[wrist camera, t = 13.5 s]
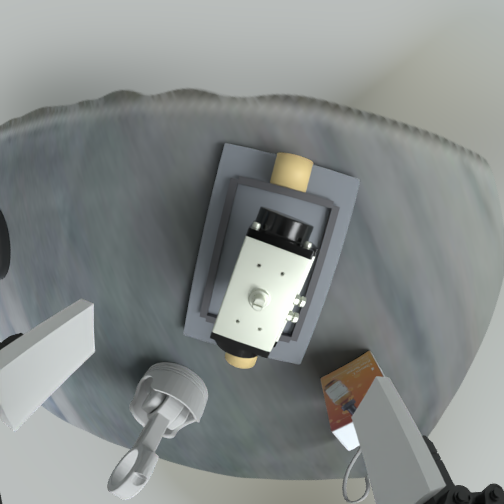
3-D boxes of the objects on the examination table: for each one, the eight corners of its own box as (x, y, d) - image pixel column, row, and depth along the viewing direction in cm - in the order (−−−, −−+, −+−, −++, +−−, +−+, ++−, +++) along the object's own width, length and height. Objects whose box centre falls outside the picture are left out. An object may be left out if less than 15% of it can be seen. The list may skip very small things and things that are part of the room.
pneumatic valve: (226, 302, 31) (201, 360, 19) (262, 203, 28) (255, 206, 16) (272, 318, 31) (270, 383, 19) (311, 222, 28) (338, 238, 16)
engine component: (221, 393, 35) (167, 350, 34) (188, 513, 15) (95, 459, 14) (180, 421, 37) (132, 384, 36) (140, 518, 17) (69, 473, 16)
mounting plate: (299, 358, 33) (302, 382, 28) (186, 329, 33) (173, 349, 28) (356, 180, 28) (372, 177, 23) (227, 145, 29) (217, 135, 24)
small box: (369, 348, 32) (397, 396, 22) (382, 373, 33) (408, 421, 23) (318, 377, 34) (330, 432, 23) (335, 400, 34) (348, 452, 24)
